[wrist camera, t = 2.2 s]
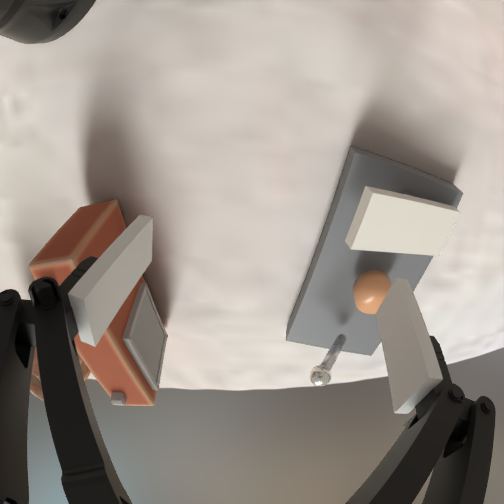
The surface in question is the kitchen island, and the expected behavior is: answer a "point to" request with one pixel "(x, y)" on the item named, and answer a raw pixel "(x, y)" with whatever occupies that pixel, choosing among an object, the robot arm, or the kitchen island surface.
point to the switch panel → (358, 255)
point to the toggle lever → (327, 363)
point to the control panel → (127, 318)
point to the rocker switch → (400, 223)
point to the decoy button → (371, 290)
